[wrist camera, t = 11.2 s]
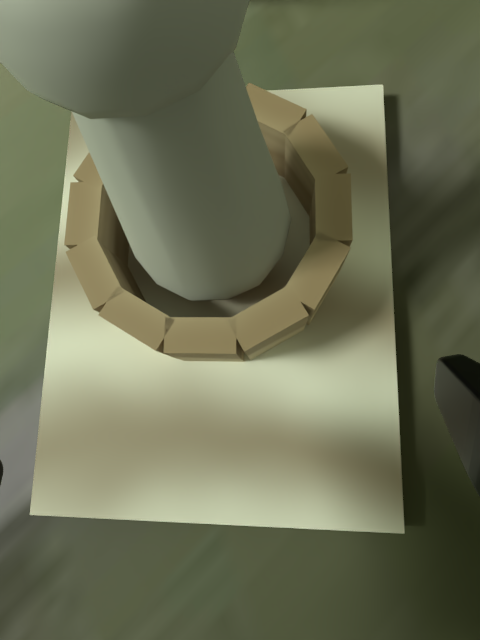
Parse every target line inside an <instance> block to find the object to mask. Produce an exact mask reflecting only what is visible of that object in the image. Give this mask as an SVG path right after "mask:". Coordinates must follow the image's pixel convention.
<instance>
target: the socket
mask: <svg viewBox="0 0 480 640" xmlns="http://www.w3.org/2000/svg"><path fill="white" fill-rule="evenodd" d="M246 89H247V92H248V95H249V98H250V101H251V104H252V106H253V109H254V112H255V115H256V118H257V121H258V124H259V127H260V129H261V132H262V134H263V137H264V140H265V142H266V145H267V147H268V150H269V152H270V155H271V157H272V160H273V163H274V165H275V168H276V170H277V173H278V175H279V178H280V180H281V183H282V186H283V189H284V193H285V197H286V200H287V204H288V208H289V212H290V215H291V219H292V220H291V224H290V228H289V232H288V236H287V240H286V245H285V249H284V253H283V255H282V257H281V259H280V260H279V261H278V263H277V264H276V265H275V266H274V268H273V269H272V270H271V271H270V273H269V274H268V275H267V276H266V278H265V279H264V280H263V281H262V283H261V284H260V285H259V286H257V287H254V288H252V289H250V290H248V291H246V292H244V293H241V294H239V295H237V296H235V297H233V298H230V299H228V300H207V301H191V300H188V299H186V298H184V297H182V296H180V295H178V294H176V293H174V292H172V291H170V290H168V289H166V288H164V287H162V286H160V285H158V284H156V282H155V281H154V280H153V279H152V277H151V276H150V275H149V274H148V273H147V271H146V270H145V269H144V268H143V266H142V265H141V264H140V263H139V261H138V260H137V259H136V258H135V256H134V253H133V251H132V249H131V246H130V244H129V242H128V239H127V237H126V235H125V233H124V230H123V228H122V226H121V223H120V221H119V219H118V217H117V214H116V212H115V210H114V207H113V205H112V203H111V200H110V198H109V196H108V194H107V191H106V189H105V187H104V184H103V182H102V180H101V178H100V175H99V173H98V171H97V168H96V166H95V164H94V161H93V159H92V157H91V155H90V152H89V150H88V148H87V145H86V143H85V141H84V139H83V136H82V134H81V132H80V129H79V127H78V125H77V123H76V120H75V118H74V116H73V113H72V112H71V122H70V131H69V141H68V151H67V160H66V170H65V180H64V189H63V199H62V209H61V218H60V228H59V238H58V247H57V257H56V266H55V276H54V286H53V295H52V305H51V315H50V324H49V334H48V344H47V353H46V363H45V373H44V382H43V392H42V402H41V411H40V421H39V431H38V440H37V450H36V460H35V469H34V479H33V489H32V498H31V508H30V515H42V516H62V517H82V518H102V519H122V520H142V521H162V522H182V523H202V524H222V525H242V526H262V527H282V528H302V529H322V530H342V531H362V532H382V533H402V534H405V532H404V511H403V491H402V470H401V449H400V428H399V407H398V387H397V366H396V345H395V324H394V303H393V282H392V262H391V241H390V220H389V199H388V178H387V157H386V137H385V116H384V95H383V85H367V86H348V87H328V88H309V89H290V90H271V91H266V90H264V89H262V88H259V87H257V86H255V85H253V84H251V83H248V85H247V86H246Z"/></svg>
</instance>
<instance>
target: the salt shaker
mask: <svg viewBox="0 0 480 640" xmlns="http://www.w3.org/2000/svg"><path fill="white" fill-rule="evenodd" d="M248 3H249V0H0V62H1V63H2V64H3V65H4V67H5V68H6V69H7V70H8V71H9V72H10V73H11V74H12V75H13V76H14V77H15V78H16V79H17V80H18V81H19V82H20V83H21V84H22V85H23V86H24V87H25V88H26V90H28V91H30V92H31V93H33V94H35V95H37V96H39V97H40V98H42V99H44V100H46V101H49V102H51V103H53V104H56V105H58V106H61V107H63V108H65V109H68V110H70V111H72V113H73V116H74V118H75V120H76V123H77V125H78V127H79V129H80V132H81V134H82V136H83V139H84V141H85V143H86V145H87V148H88V150H89V152H90V155H91V157H92V159H93V161H94V164H95V166H96V168H97V171H98V173H99V175H100V178H101V180H102V182H103V184H104V187H105V189H106V191H107V194H108V196H109V198H110V200H111V203H112V205H113V207H114V210H115V212H116V214H117V217H118V219H119V221H120V223H121V226H122V228H123V230H124V233H125V235H126V237H127V239H128V242H129V244H130V246H131V249H132V251H133V253H134V256H135V258H136V259H137V260H138V261H139V263H140V264H141V265H142V266H143V268H144V269H145V270H146V271H147V273H148V274H149V275H150V276H151V277H152V279H153V280H154V281H155V282H156V284H158V285H160V286H162V287H164V288H166V289H168V290H170V291H172V292H174V293H176V294H178V295H180V296H182V297H184V298H186V299H188V300H191V301H207V300H228V299H230V298H233V297H235V296H237V295H239V294H241V293H244V292H246V291H248V290H250V289H252V288H254V287H257V286H259V285H260V284H261V283H262V281H263V280H264V279H265V278H266V276H267V275H268V274H269V273H270V271H271V270H272V269H273V268H274V266H275V265H276V264H277V263H278V261H279V260H280V259H281V257H282V255H283V253H284V249H285V245H286V240H287V236H288V232H289V228H290V224H291V220H292V219H291V215H290V212H289V208H288V204H287V200H286V197H285V193H284V189H283V186H282V183H281V180H280V178H279V175H278V173H277V170H276V168H275V165H274V163H273V160H272V157H271V155H270V152H269V150H268V147H267V145H266V142H265V140H264V137H263V134H262V132H261V129H260V127H259V124H258V121H257V118H256V115H255V112H254V109H253V106H252V104H251V101H250V98H249V95H248V92H247V89H246V86H245V83H244V80H243V78H242V75H241V72H240V69H239V66H238V63H237V60H236V57H235V54H234V52H233V51H234V50H235V48H236V45H237V42H238V38H239V35H240V31H241V28H242V24H243V21H244V17H245V14H246V10H247V7H248Z"/></svg>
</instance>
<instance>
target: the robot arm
mask: <svg viewBox="0 0 480 640" xmlns="http://www.w3.org/2000/svg"><path fill="white" fill-rule="evenodd" d="M434 395H435V399H436V402H437V405H438V407H439V409H440V412H441V414H442V416H443V419H444V421H445V423H446V426H447V428H448V430H449V433H450V435H451V437H452V440H453V442H454V445H455V447H456V449H457V452H458V454H459V456H460V459H461V461H462V463H463V466H464V468H465V470H466V472H467V474H468V476H469V478H470V480H471V482H472V484H473V486H474V488H475V489H476V491H477V493H478V495H479V497H480V363H478V362H476V361H474V360H472V359H470V358H468V357H466V356H464V355H461V354H457V355H451V356H445V357H441V358H439V359H438V361H437V364H436V374H435V385H434ZM2 476H3V465H2V462H1V460H0V485H1V480H2Z"/></svg>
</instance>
